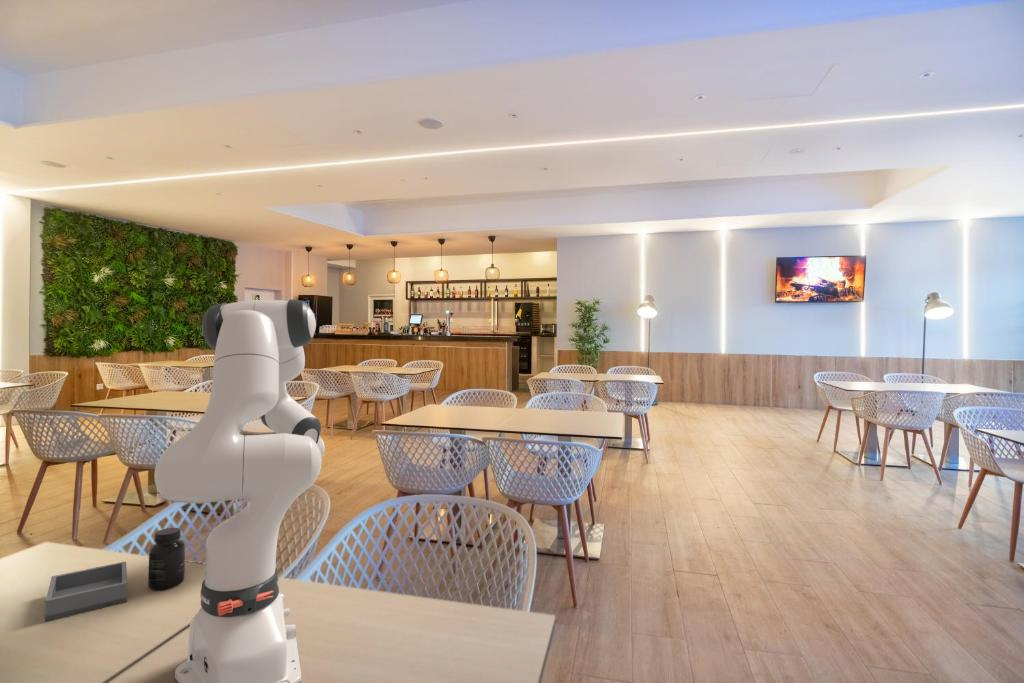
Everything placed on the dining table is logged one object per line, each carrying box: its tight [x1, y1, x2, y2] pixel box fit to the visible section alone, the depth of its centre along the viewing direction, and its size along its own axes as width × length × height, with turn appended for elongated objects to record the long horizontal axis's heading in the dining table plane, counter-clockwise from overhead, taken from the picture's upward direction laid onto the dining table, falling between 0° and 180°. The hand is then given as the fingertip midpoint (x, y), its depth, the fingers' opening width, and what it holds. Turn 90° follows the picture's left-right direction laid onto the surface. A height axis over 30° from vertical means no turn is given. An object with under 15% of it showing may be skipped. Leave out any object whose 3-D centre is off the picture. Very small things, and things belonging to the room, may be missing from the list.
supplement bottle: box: [147, 527, 186, 592], centre depth 112 cm, size 7×7×12 cm
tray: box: [44, 560, 128, 623], centre depth 106 cm, size 13×13×4 cm
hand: (209, 478), depth 120 cm, fingers open, 8 cm apart
